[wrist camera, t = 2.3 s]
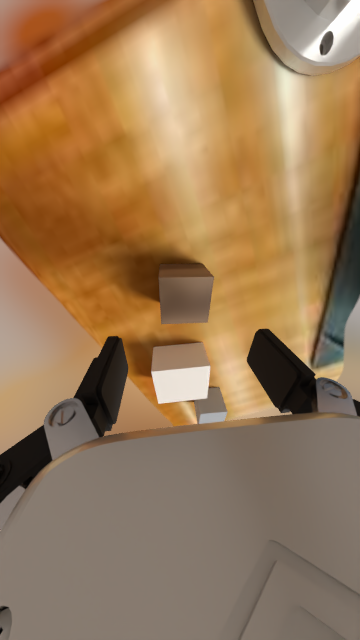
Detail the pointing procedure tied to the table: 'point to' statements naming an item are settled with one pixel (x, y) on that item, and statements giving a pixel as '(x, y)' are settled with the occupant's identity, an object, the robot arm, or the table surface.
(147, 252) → the table surface
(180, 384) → the off-white block
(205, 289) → the walnut cube
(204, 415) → the slate-grey cube
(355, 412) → the robot arm
